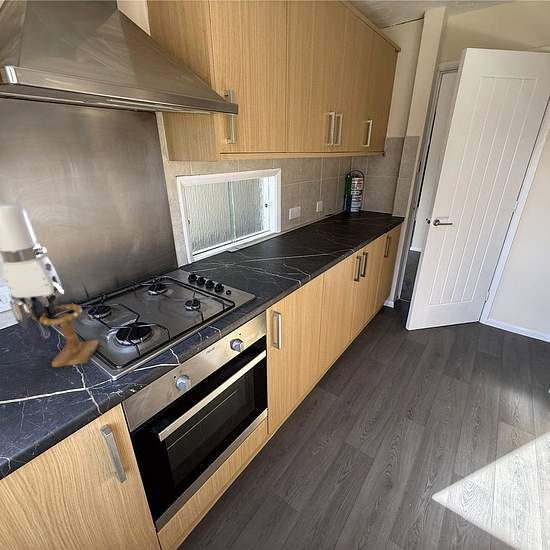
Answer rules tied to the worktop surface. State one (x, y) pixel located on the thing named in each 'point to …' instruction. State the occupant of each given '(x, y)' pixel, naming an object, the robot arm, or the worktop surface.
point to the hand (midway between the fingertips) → (46, 316)
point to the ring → (64, 319)
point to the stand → (74, 347)
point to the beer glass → (29, 322)
